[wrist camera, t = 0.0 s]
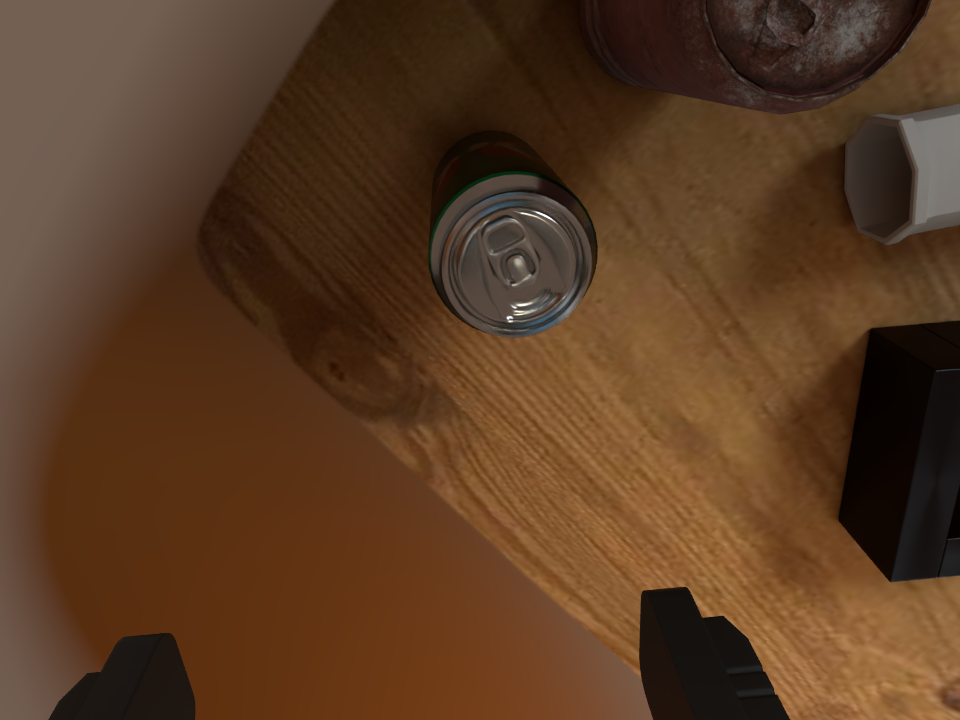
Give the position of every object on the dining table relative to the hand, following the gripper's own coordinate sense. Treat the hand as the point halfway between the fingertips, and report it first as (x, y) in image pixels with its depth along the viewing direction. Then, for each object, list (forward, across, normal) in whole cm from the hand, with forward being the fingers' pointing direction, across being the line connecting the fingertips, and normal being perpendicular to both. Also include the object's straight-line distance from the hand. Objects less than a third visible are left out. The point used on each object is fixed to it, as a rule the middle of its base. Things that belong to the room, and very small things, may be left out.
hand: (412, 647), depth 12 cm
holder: (+22, -27, +10) cm, 36 cm away
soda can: (+22, -3, -4) cm, 23 cm away
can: (+22, -10, -10) cm, 27 cm away
